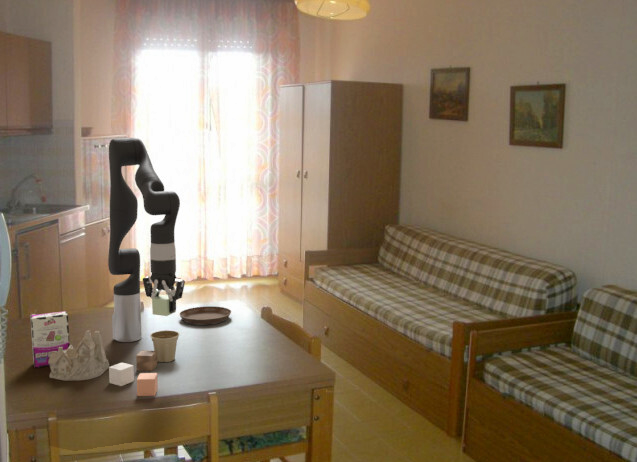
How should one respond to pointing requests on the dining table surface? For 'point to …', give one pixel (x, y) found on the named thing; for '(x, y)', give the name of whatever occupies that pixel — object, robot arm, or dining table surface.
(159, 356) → the flower pot
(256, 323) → the dining table surface
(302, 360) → the dining table surface
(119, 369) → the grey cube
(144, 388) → the terracotta cube
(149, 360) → the walnut cube
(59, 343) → the candy bar box
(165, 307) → the sage cube
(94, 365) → the ceramic cottage
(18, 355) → the dining table surface
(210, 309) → the plant saucer
